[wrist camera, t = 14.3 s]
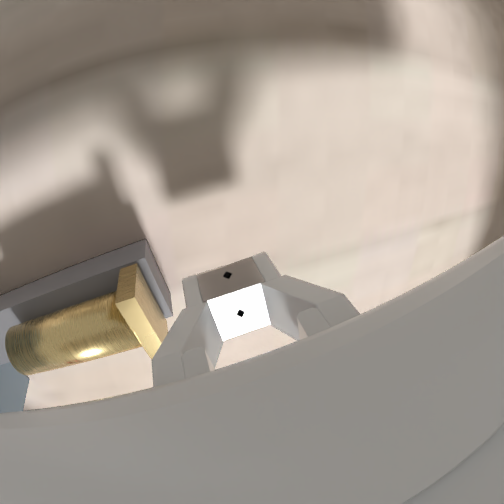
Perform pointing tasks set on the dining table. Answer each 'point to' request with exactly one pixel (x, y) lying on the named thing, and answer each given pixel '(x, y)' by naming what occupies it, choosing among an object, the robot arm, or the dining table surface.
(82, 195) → the dining table surface
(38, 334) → the lock pin
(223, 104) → the dining table surface
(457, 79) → the dining table surface
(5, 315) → the mount
